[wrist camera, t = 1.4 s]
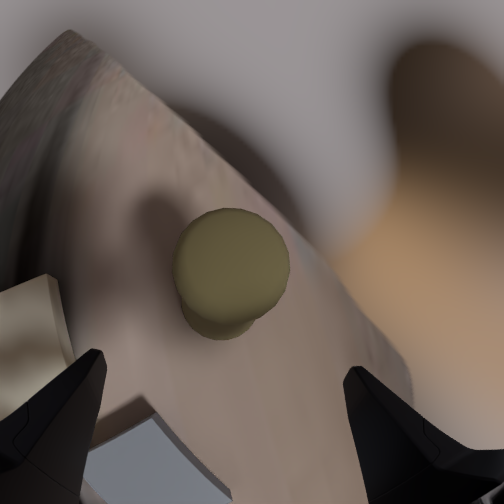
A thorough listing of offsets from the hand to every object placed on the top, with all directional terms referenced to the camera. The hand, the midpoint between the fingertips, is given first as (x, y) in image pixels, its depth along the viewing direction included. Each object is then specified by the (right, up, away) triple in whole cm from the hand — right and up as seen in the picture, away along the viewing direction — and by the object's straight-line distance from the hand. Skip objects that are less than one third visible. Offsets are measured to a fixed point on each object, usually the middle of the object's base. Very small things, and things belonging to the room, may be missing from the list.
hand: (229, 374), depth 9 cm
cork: (-2, 0, +12) cm, 12 cm away
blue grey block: (-7, -14, +6) cm, 17 cm away
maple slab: (-19, -5, +7) cm, 21 cm away
